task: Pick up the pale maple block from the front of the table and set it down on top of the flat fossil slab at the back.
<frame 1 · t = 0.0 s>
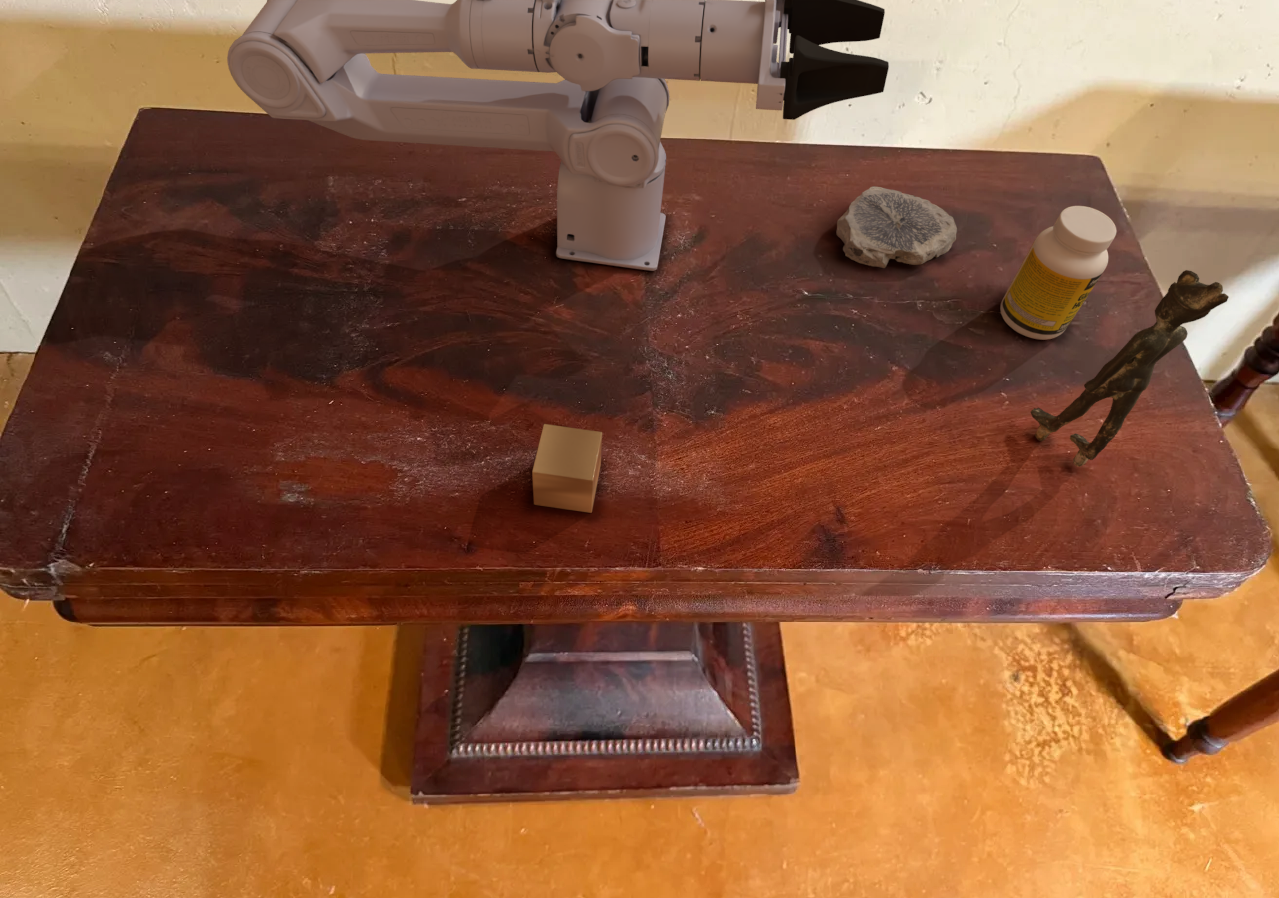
hand: (884, 49, 67), 22 cm above the table, tool horizontal, fingers open, 7 cm apart
fossil: (887, 240, 88), on the table
statue: (1055, 448, 73), on the table
block: (567, 485, 68), on the table
pill bottle: (1030, 319, 82), on the table
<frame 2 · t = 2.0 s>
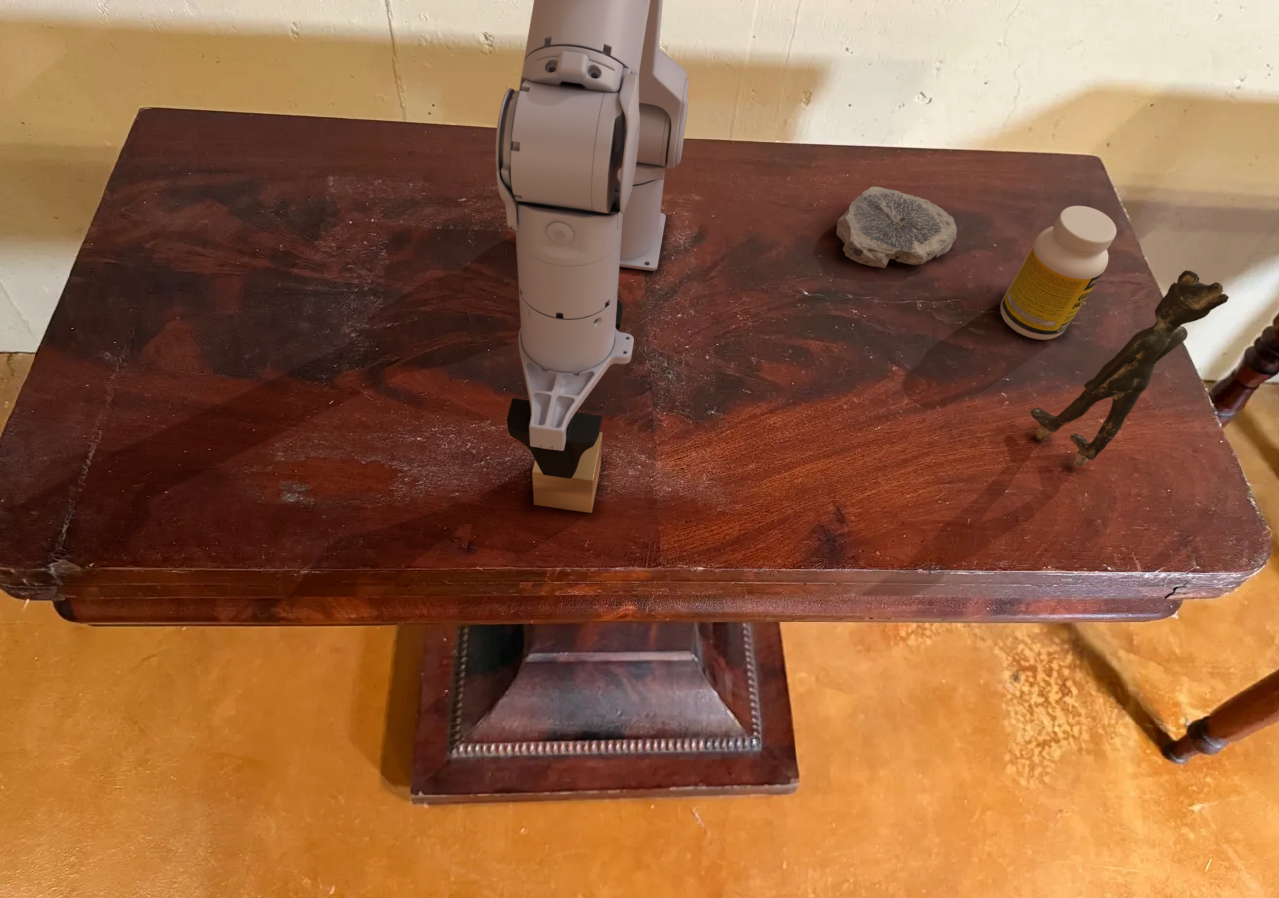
hand: (567, 428, 62), 7 cm above the table, tool pointing down, fingers open, 7 cm apart
nothing on the table moved.
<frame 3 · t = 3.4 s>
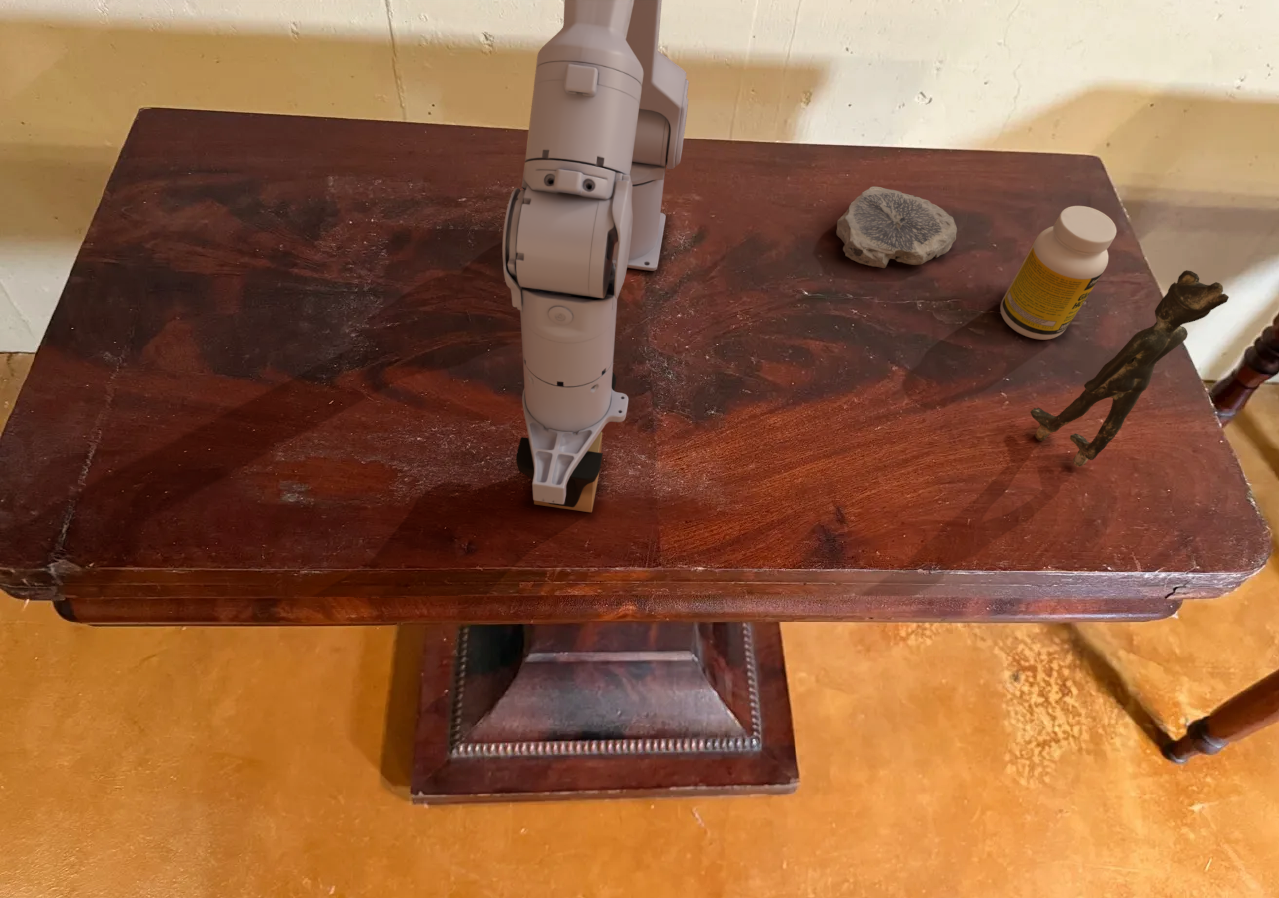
hand: (567, 474, 67), 1 cm above the table, tool pointing down, fingers closed on block, 4 cm apart
block: (567, 484, 68), on the table, touching gripper
everything else where it was.
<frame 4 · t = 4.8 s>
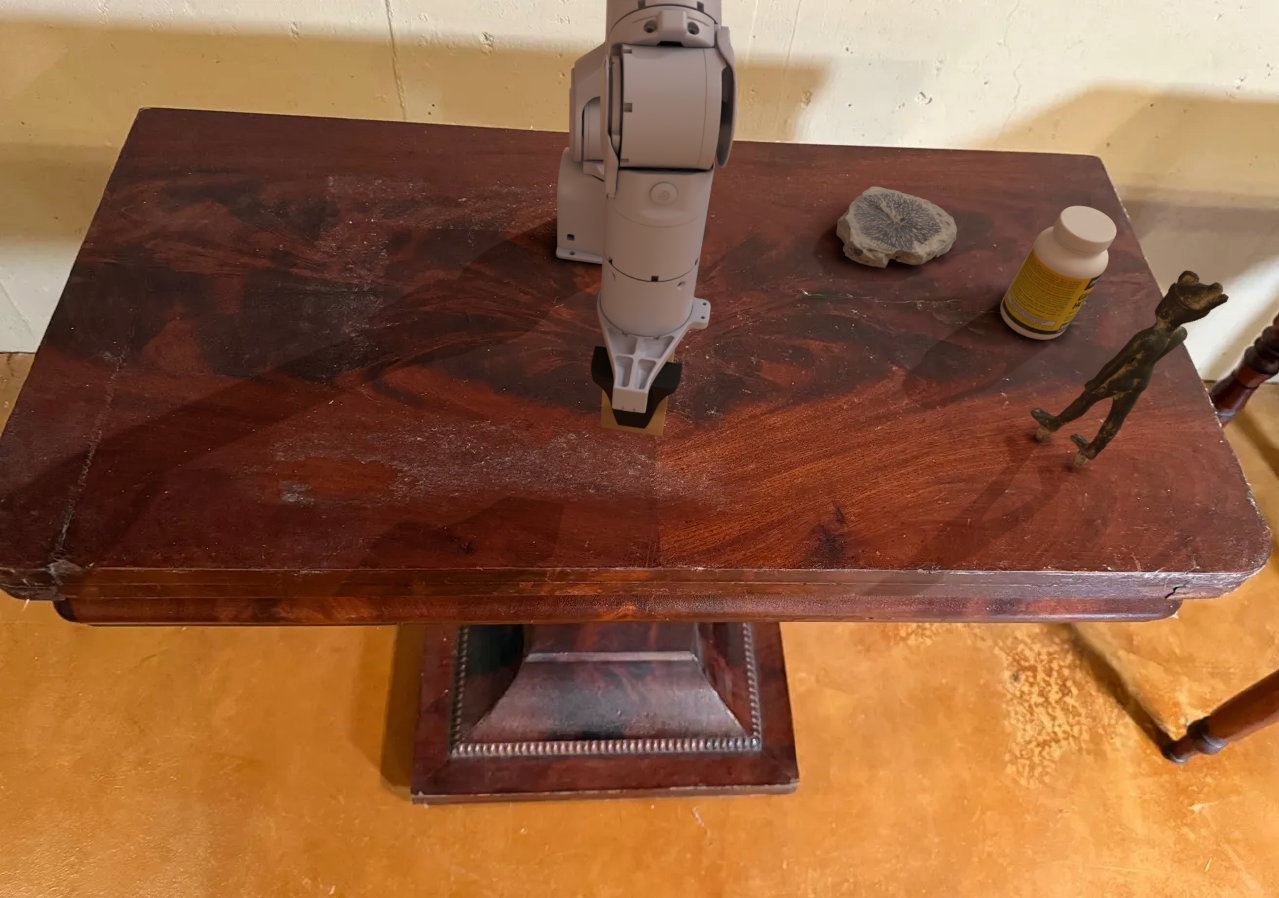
hand: (636, 396, 63), 8 cm above the table, tool pointing down, fingers closed on block, 4 cm apart
block: (635, 408, 64), point 7 cm above the table, touching gripper
everything else where it was.
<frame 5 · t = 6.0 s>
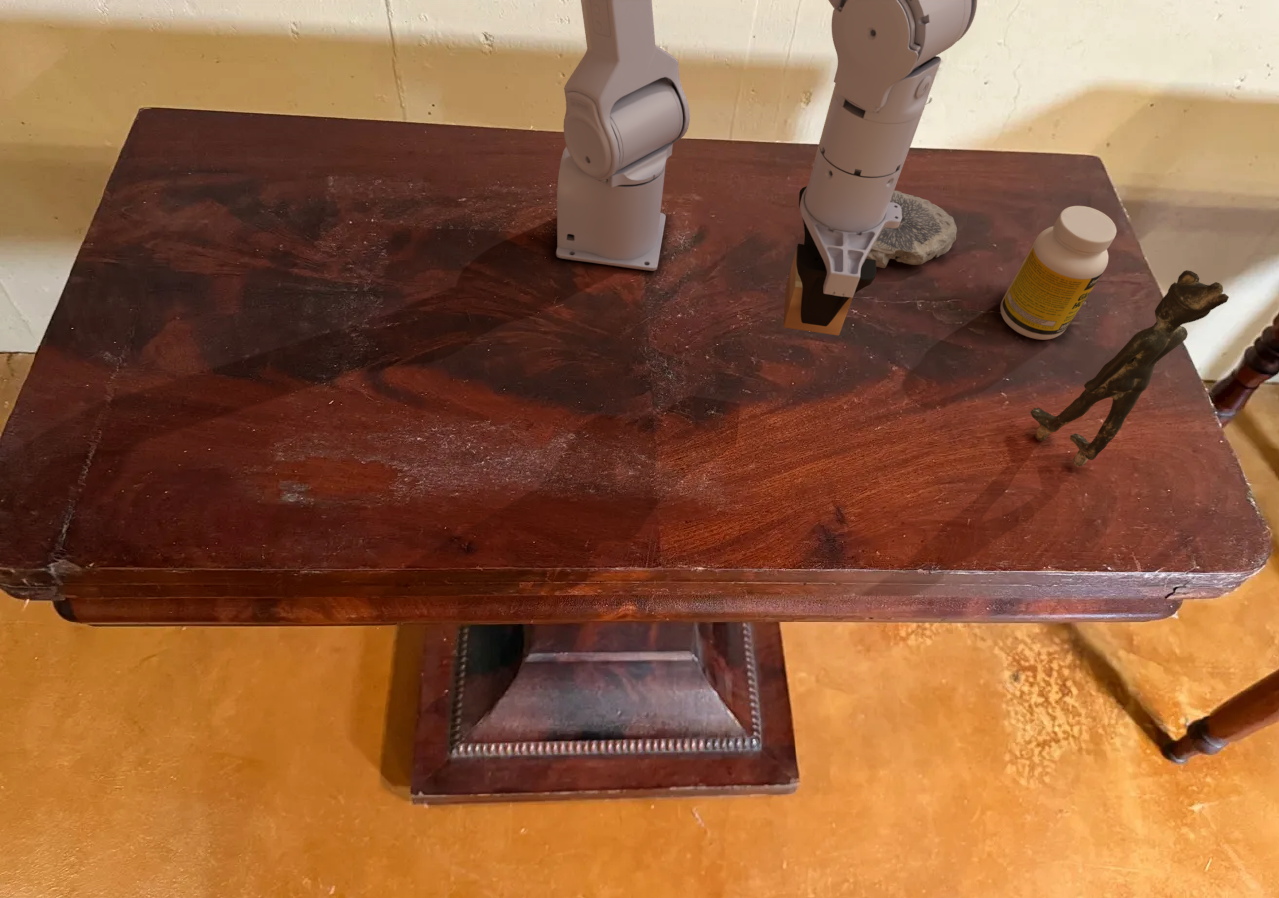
hand: (815, 299, 70), 8 cm above the table, tool pointing down, fingers closed on block, 4 cm apart
block: (811, 312, 71), point 7 cm above the table, touching gripper
everything else where it was.
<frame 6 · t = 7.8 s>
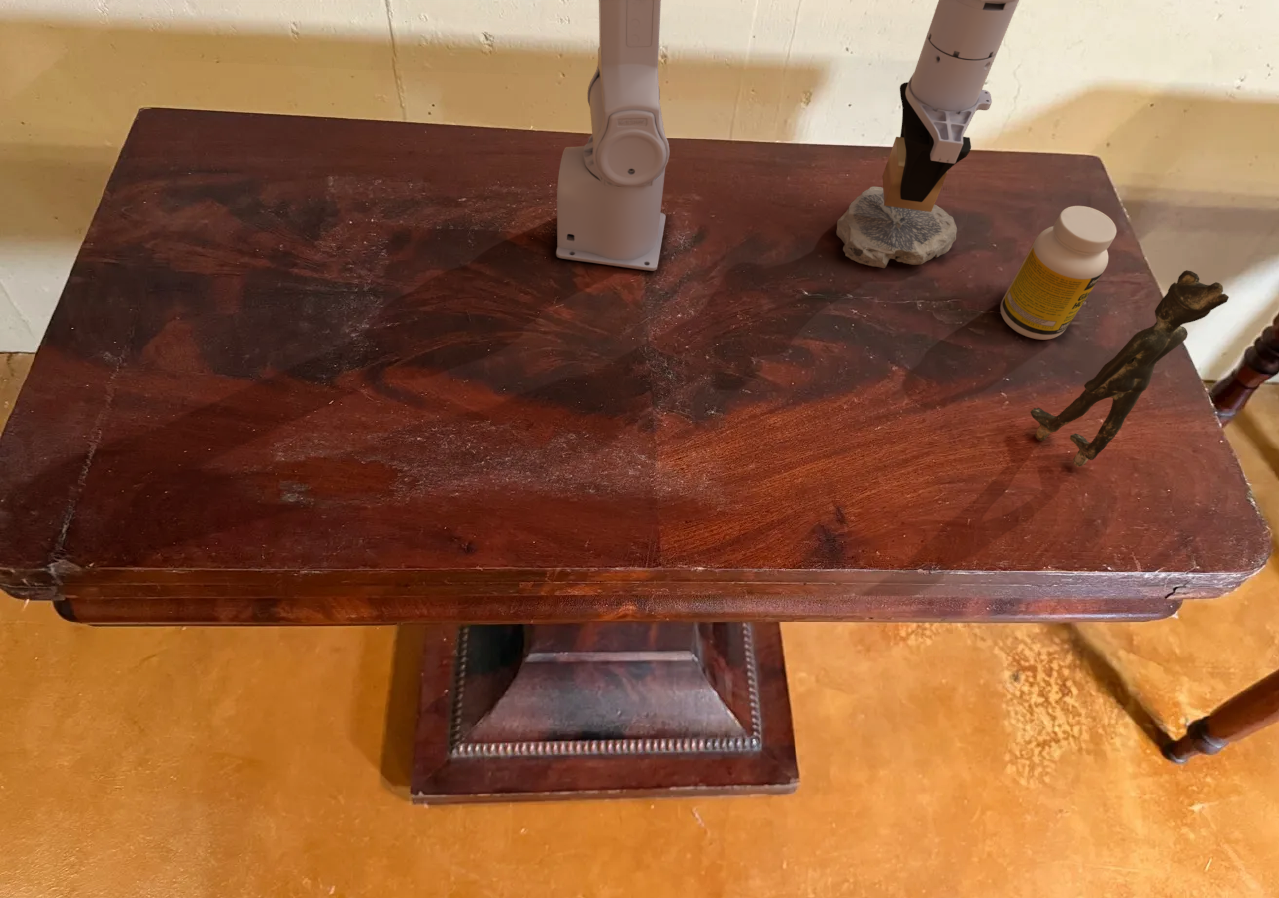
hand: (909, 181, 82), 7 cm above the table, tool pointing down, fingers closed on block, 4 cm apart
block: (906, 194, 83), point 5 cm above the table, touching gripper
everything else where it was.
when the fingers open (4 cm above the table, at t = 9.0 s): block stays where it is, resting on fossil.
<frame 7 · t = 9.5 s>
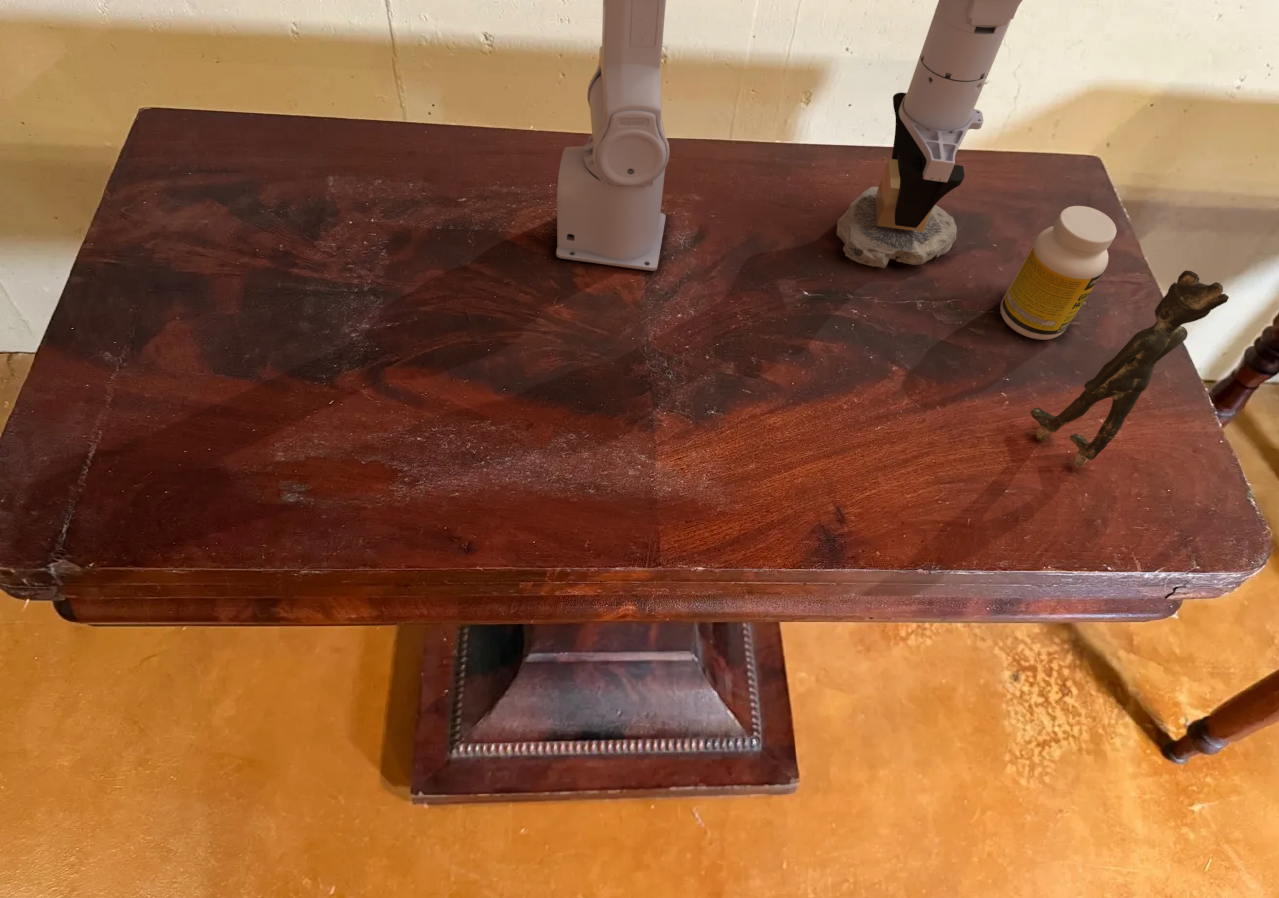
hand: (903, 198, 83), 5 cm above the table, tool pointing down, fingers open, 7 cm apart
fossil: (887, 240, 88), on the table, touching block
block: (898, 214, 85), point 3 cm above the table, touching fossil
everything else where it was.
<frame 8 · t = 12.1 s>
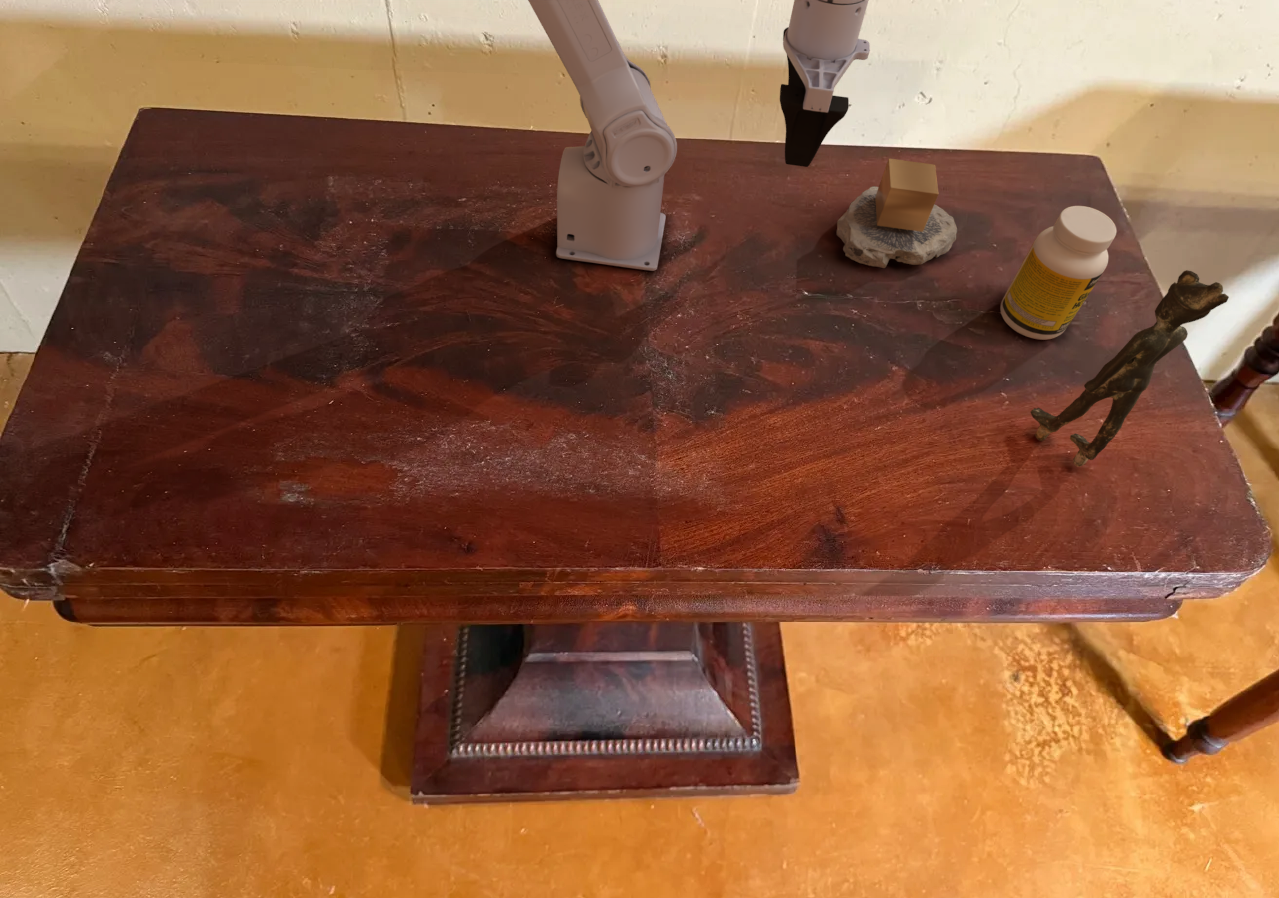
hand: (797, 137, 80), 9 cm above the table, tool pointing down, fingers open, 7 cm apart
nothing on the table moved.
at the end: block inside the target area on the fossil (0.1 cm from its centre), point 3.2 cm above the fossil's base; block touching fossil; the gripper is holding nothing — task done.
